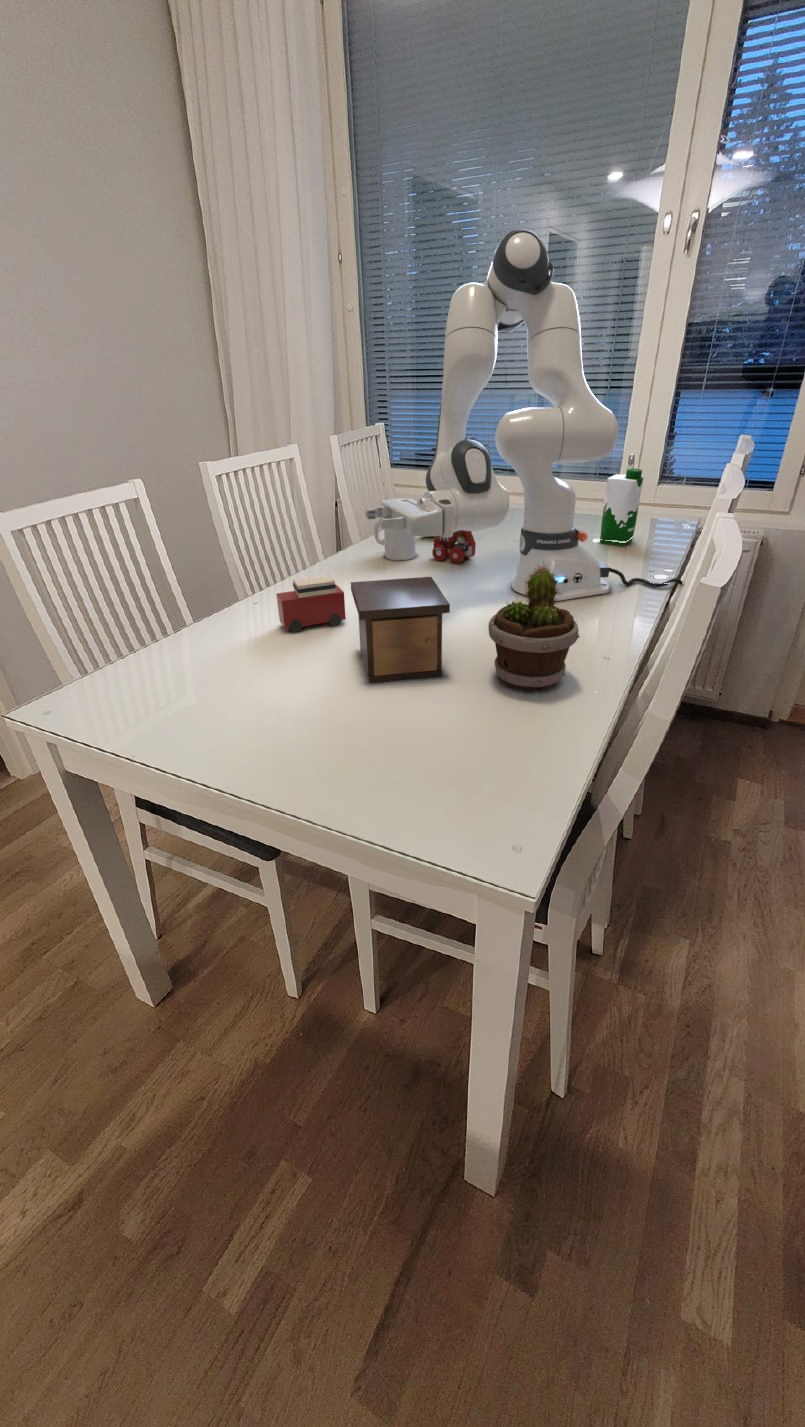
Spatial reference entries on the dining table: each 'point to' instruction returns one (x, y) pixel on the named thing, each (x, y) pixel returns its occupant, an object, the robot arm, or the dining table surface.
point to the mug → (396, 543)
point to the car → (311, 603)
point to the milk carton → (621, 507)
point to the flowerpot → (533, 636)
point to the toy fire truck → (454, 546)
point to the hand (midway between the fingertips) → (373, 519)
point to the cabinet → (400, 628)
